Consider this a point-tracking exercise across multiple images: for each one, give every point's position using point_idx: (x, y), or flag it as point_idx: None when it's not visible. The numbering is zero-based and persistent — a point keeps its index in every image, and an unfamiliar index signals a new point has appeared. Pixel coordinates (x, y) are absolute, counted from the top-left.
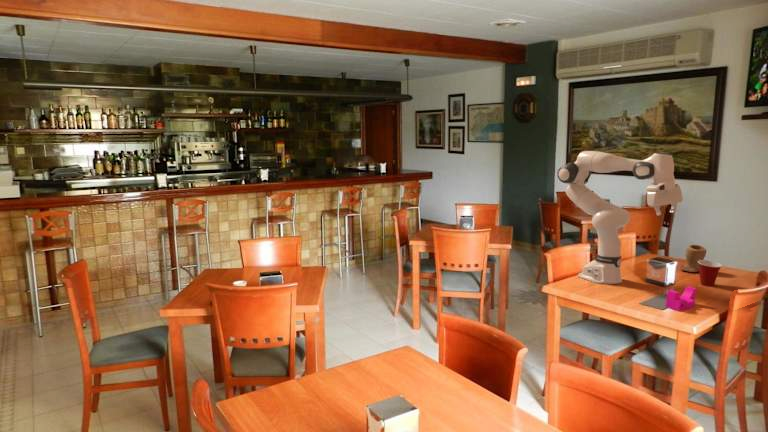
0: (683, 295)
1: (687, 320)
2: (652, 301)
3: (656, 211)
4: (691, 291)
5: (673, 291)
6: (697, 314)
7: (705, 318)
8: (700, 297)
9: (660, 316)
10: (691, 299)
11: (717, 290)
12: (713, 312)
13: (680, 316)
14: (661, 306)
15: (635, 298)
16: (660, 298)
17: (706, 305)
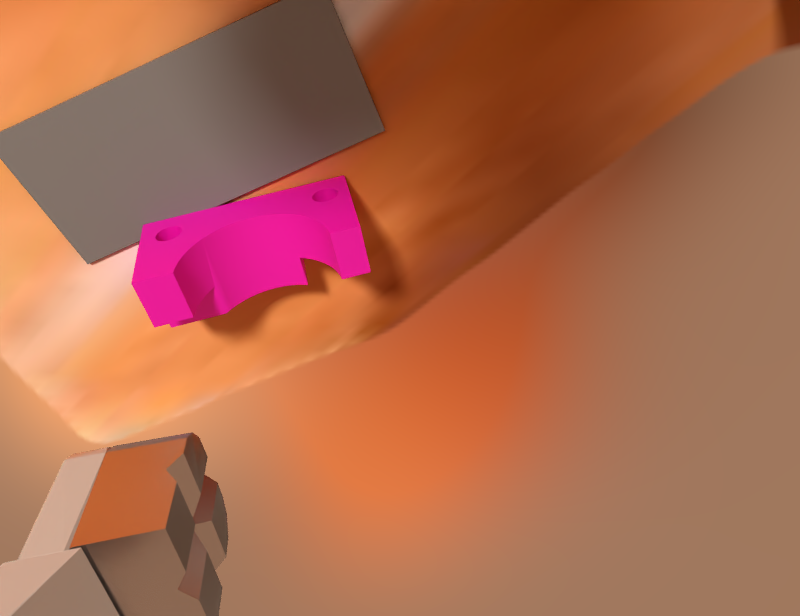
0: (295, 224)
1: (131, 393)
2: (110, 129)
3: (8, 592)
4: (333, 262)
5: (164, 299)
6: (243, 341)
7: (240, 385)
8: (495, 127)
9: (14, 336)
10: (302, 272)
11: (725, 36)
12: (345, 332)
13: (131, 350)
14: (113, 222)
15: (20, 21)
16: (210, 90)
17: (402, 247)
